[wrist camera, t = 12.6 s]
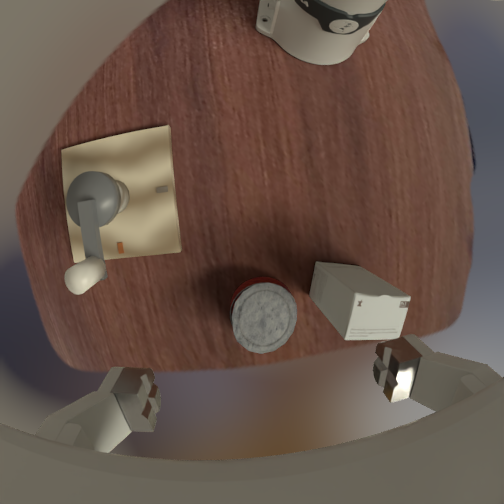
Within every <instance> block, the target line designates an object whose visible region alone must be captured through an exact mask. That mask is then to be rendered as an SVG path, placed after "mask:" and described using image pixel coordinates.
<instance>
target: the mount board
mask: <svg viewBox="0 0 504 504" xmlns="http://www.w3.org/2000/svg"><path fill="white" fill-rule="evenodd" d="M61 154H62V174H63V187H64V198H65V207H66V215H67V223H68V230H69V236H70V242H71V248H72V253H73V259H74V263H77V262H81V261H83V260H85V259H86V258H85V252H84V246H83V240H82V234H81V227H79V226H78V225H76V224H75V223H74V222H73V220H72V219H71V217H70V216H69V213H68V210H67V205H66V197H67V192H68V189H69V186H70V184H71V183H72V181H73V180H74V179H75V178H76V177H77V176H78V175H80V174H82V173H84V172H87V171H97V172H104V173H107V174H109V175H110V176H111V177H113V178H114V180H115V181H116V182H117V184H118V186H119V189H120V193H121V204H120V208H119V211H118V213H117V215H116V217H115V218H114V219H113V220H112V221H111V222H110V223H109V224H107V225H105V226H102V227H99V229H100V236H101V243H102V249H103V255H104V260H106V259H116V258H126V257H136V256H147V255H157V254H167V253H178V252H181V251H182V246H181V238H180V230H179V222H178V213H177V204H176V194H175V183H174V172H173V159H172V145H171V128H170V127H169V126H162V127H156V128H150V129H145V130H140V131H135V132H130V133H125V134H120V135H116V136H111V137H107V138H103V139H99V140H95V141H91V142H87V143H84V144H80V145H76V146H73V147H69V148H66V149H63V150H61Z"/></svg>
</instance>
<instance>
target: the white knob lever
mask: <svg viewBox="0 0 504 504" xmlns="http://www.w3.org/2000/svg"><path fill="white" fill-rule="evenodd" d="M120 204H121V193H120V189H119V186H118V184H117V182H116V181H115V180H114V178H113V177H111V176H110V175H109V174H107V173H104V172H97V171H87V172H84V173H82V174H80V175H78V176H77V177H76V178H75V179H74V180H73V181H72V183H71V184H70V186H69V189H68V192H67V197H66V205H67V210H68V213H69V216H70V217H71V219H72V220H73V222H74V223H75V224H76V225H78V226H79V227H81V234H82V240H83V246H84V252H85V258H86V259H85V260H83V261H81V262H79V263H78V264H76V265H74V266H72V267H70V268H69V269H68V270H67V271H66V273H65V283H66V286H67V287H68V289H69V290H70V291H71V292H72V293H74V294H82V293H84V292H85V291H86V290H88V289H89V288H90V287H91V286H93V285H94V284H95V283H97V282H98V281H99V280H104V279H106V278H107V271H106V266H105V261H104V255H103V249H102V243H101V236H100V229H99V227H102V226H105V225H107V224H109V223H110V222H111V221H112V220H113V219H114V218H115V217H116V215H117V213H118V211H119V208H120Z"/></svg>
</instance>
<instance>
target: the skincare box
mask: <svg viewBox="0 0 504 504" xmlns="http://www.w3.org/2000/svg"><path fill="white" fill-rule="evenodd" d="M309 297H310V298H311V299H312V300H313V302H314V303H315V304H316V305H317V306H318V308H319V309H320V310H321V311H322V312H323V314H324V315H325V316H326V317H327V319H328V320H329V321H330V322H331V323H332V325H333V326H334V327H335V328H336V329H337V331H338V332H339V333H340V334H341V336H342V337H343V338H344V340H380V339H396V338H399V336H400V333H401V330H402V327H403V323H404V320H405V317H406V313H407V309H408V305H409V302H410V298H411V297H410V296H409V295H407V294H406V293H404V292H402V291H401V290H399V289H397V288H396V287H394V286H392V285H391V284H389V283H387V282H386V281H384V280H382V279H381V278H379V277H377V276H376V275H374V274H372V273H370V272H369V271H367V270H365V269H364V268H362V267H361V266H355V265H346V264H337V263H324V262H316V263H315V268H314V273H313V278H312V283H311V288H310V293H309Z"/></svg>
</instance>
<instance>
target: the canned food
mask: <svg viewBox="0 0 504 504" xmlns="http://www.w3.org/2000/svg"><path fill="white" fill-rule="evenodd" d="M230 320H231V324H232V326H233V332H234V335H235V338H236V340H237V342H238V343H240V344H241V345H242V346H243V347H245V348H246V349H247V350H248V351H252V352H256V353H260V354H262V353H267V352H271V351H275V350H276V349H277V348H279V347H280V346H282V345H283V344H285V343H286V341H287V340H288V338H289V337H290V336H291V334H292V333H293V331H294V327H295V324H296V321H297V306H296V303H295V300H294V298H293V296H292V294H291V292H290V291H289V289H288V288H287V287H286V286H285V285H284V284H283V283H282V282H280V281H279V280H277V279H274V278H270V277H256V278H252V279H250V280H247V281H246V282H244V283H242V284H241V285H240V286H239V287H238V288H237V289H236V291H235V292H234V294H233V296H232V299H231V303H230Z"/></svg>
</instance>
